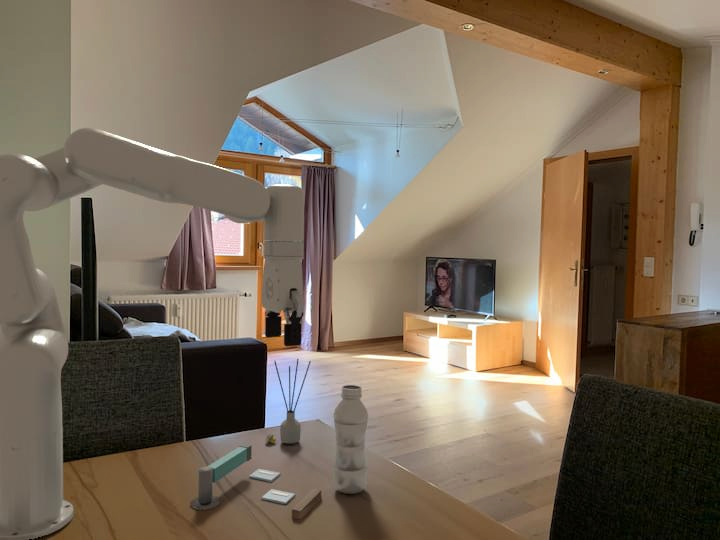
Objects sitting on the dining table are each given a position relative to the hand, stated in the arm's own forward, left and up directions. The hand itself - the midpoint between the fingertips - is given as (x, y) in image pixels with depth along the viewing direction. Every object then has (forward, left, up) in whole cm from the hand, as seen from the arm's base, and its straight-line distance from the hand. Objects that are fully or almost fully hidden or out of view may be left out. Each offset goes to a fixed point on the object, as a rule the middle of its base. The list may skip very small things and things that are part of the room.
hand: (282, 340), depth 104 cm
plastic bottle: (+13, +4, -29) cm, 32 cm away
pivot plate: (-9, -11, -28) cm, 32 cm away
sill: (+8, -6, -28) cm, 30 cm away
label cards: (-2, -1, -28) cm, 28 cm away
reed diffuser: (-9, +20, -29) cm, 36 cm away
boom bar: (-9, -5, -28) cm, 30 cm away
